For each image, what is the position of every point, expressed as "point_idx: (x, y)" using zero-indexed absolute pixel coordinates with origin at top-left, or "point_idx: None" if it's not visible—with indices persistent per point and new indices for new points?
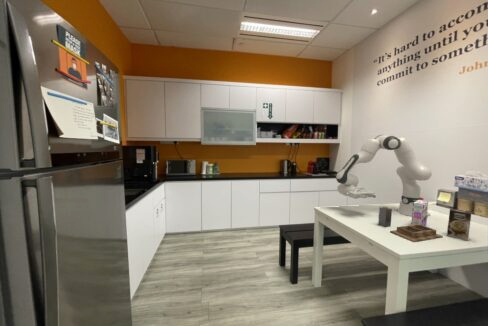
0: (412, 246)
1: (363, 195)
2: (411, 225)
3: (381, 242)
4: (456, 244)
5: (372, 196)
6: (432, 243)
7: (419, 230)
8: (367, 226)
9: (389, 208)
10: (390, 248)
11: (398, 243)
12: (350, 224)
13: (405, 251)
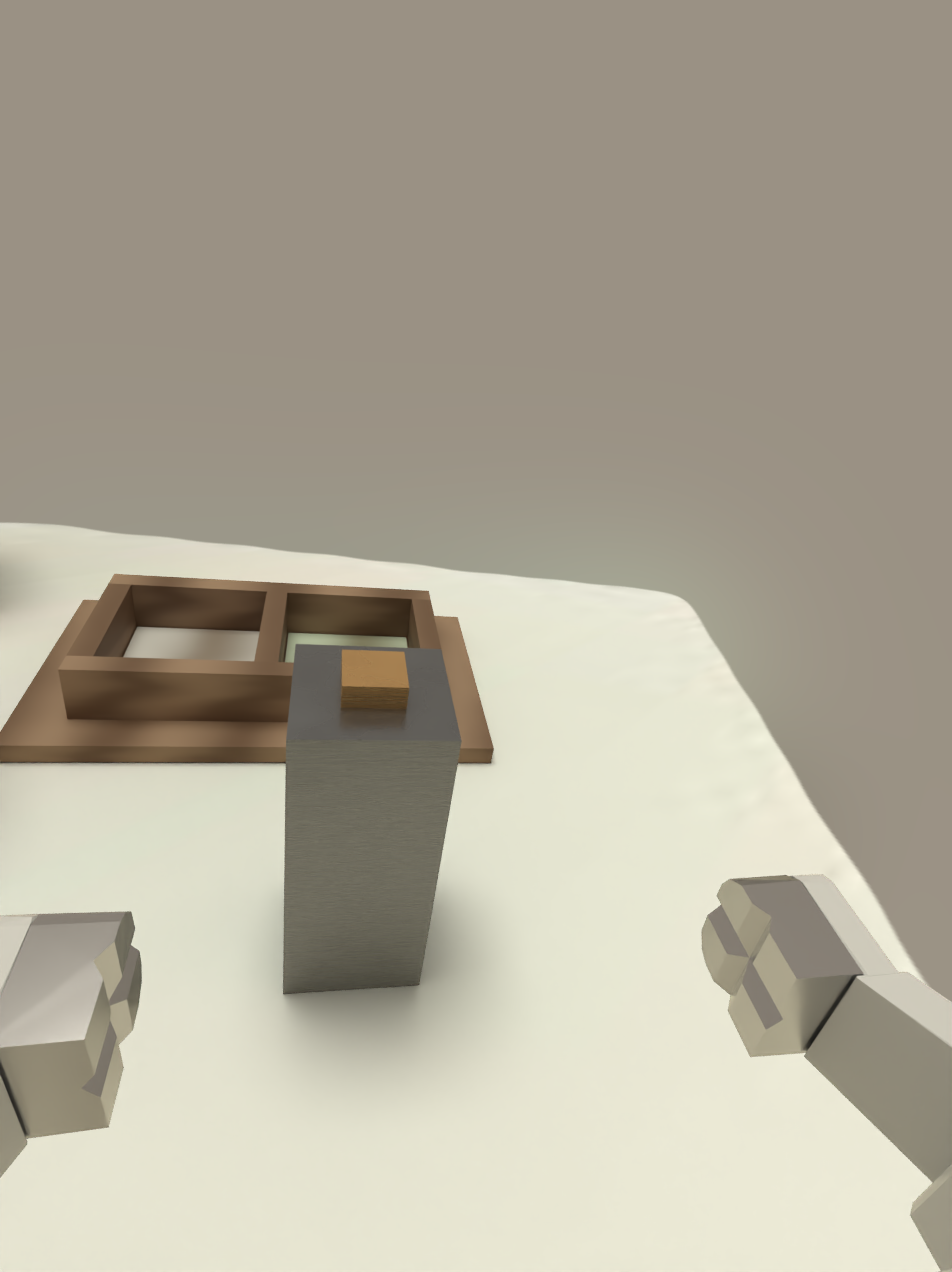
0: (528, 610)
1: (846, 930)
2: (216, 667)
3: (717, 676)
4: (170, 560)
5: (108, 1083)
6: None
7: (285, 611)
8: (660, 952)
9: (313, 665)
10: (700, 628)
11: (594, 645)
12: None
13: (629, 598)
